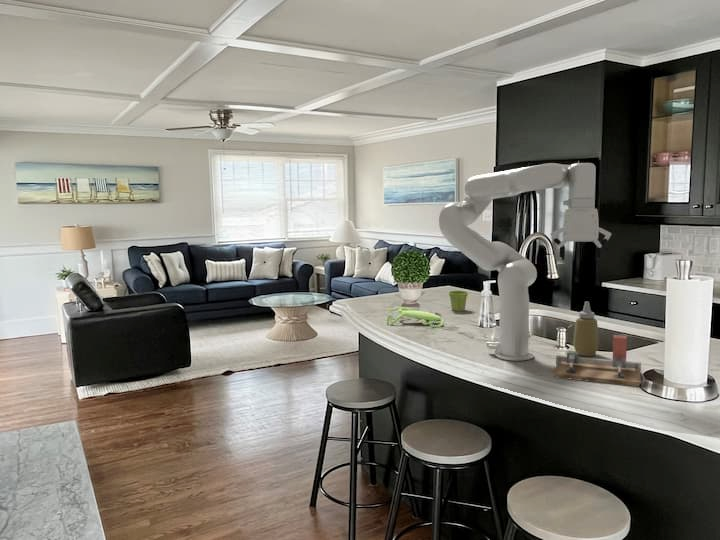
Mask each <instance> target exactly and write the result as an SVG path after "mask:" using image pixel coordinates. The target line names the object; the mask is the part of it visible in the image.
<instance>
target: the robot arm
mask: <svg viewBox="0 0 720 540" xmlns="http://www.w3.org/2000/svg"><path fill="white" fill-rule="evenodd" d="M596 170H597V169H596V165H595V164H594V163H592V162H579V163H572V164H563V163H562V164H561V163H555V162H549V163H542V164H538V165H537V164H536V165H531V166H526V167H525V166H524V167H520V168H512V169H508V170H507V169H506V170H504V171H503V170H501V171H497V172H491V173H486V174H479V175H475V176H472V177H469V178H468V179H467V180H466V182H465V185H464V192H465V193H464V194H465V195H466V196H465V197H464V198H463V200H462V201H455V202H451V203H448V204H446V205H444V207H442V209H441V210H440V212H439V216H438V225H439V230H440V232H441V234H442V236H443V237H444V238H445V240H446V241H447V242H448V243H449V244H451V245H452V247H454V248H456V249H457V250H458V251H460V252H461V253H462V254H463V255H464V256H466V257H467V258H468V259H470V260H471V261H472V262H473V263H474V264H476V265H477V266H479V268H481V269H482V270H484V271H487V272H491V271H497V272H498V275H497V286H498V295H499V297H498V298H499V327H498V329H499V331H498V332H499V334H498V336H499V337H498V338H499V339H498V340H499V341H496V342H492V341H486V345H485V346H486V348H488V349H491V350H494V356H495V357H496V358H498V359H502V360H505V361H512V362H513V361H516V362H521V361H528V360H531V359H533V358H534V353H533V352H532V351H531V350H529V349H530V348H529V342H530V341H529V340H530V339H529V338H530V337H529V336H530V335H529V334H530V295H529V287H530V286H532V284H534V283H535V281H536V279H537V277H538V272H537V268H536V266H535V265H534V264H533V262H532V261H530V260H529V259H528V258H526V257H525V256H524V255H522V254H521V253H519V252H518V251H517V250H515V249H514V248H513V247H511V246H510V245H508V244H506V243H505V242H502V241H497V240H496V241H489V240H488V239H486V238H485V237H484V236H482V235H481V234H480V233H478V232H477V231H476V230H474V229H472V228H470V227H468V226H470V225H472V224H473V223H475V222H476V221H477V220H478V219H479V218H480V216H481V215H482V214H483V212H485V210H486V209H487V208H488V206H489V205H490V204H491V203H492V201H493V200H495V199H502V198H509V197H515V196H518V195H519V194H521V193H527V192H533V191H539V190H541V191H542V190H546V189H547V190H548V189H562V188H563V189H564V188H568V199H567V200H563V203H562V205H563V206H567V208H565V209H564V213H563V214H564V215H563V222H562V227H560V228H559V229H557V230H554V231H552V232H551V233H550V236H551V238H552V239H553V241H554V243H555V244H556V245H557V246H559V247H558V248H559V258H561V261H564V260H565V258H566V246H565V244H566V243H567V242H572V243H573V242H575V243H576V242H583V243H588V242H591V243H594V244H595V246H596V247H595V251H594V252H595V254H594V257H595V258H594V261H595V262H599V259H600V258H601V251H602V247H603V246H604V245H605V244H606V243H607V242H608V241H609V240H610V238H611V236H612V233H611V232H610V231H608V230H606V229H604V228H602V227H599V213H598V208H596V207H595V203H596V202H595V200H596V177H597V176H596V173H597V172H596ZM561 233H562V240H560V239H559V238H558V236H557V235H559V234H561ZM599 233H601V234H602V235H604V237H603V239H602V240H601V241H599Z"/></svg>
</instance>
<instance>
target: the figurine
mask: <svg viewBox="0 0 720 540" xmlns="http://www.w3.org/2000/svg"><path fill="white" fill-rule="evenodd" d="M389 309H390V310H389V314H388V315H387V319H386V325H387V326H388V325H389V323H390V324H391V325H393V324H394V325H395V324H396V323H397V322H398V321H400V320H401V319H402V318H403V317H408V318H412V319H415V320H414V322H415V323H416V322H418V321H421V323H422V325H425V326H426V325H429V326H430V327H431V328H433V327H434V328H433V329H435V327H438V328H441V326H442V327H443V326H444V324H445V321H444V319H443V318H442V314H441V313H438V312H434V313H431V312H427V311H421V310H411V309H410V308H409V307H406V306H399V307H394V308H389ZM395 311H398V313H400V315H399V316H398V317H396V318H395V319H394V320H393V314H392V312H395ZM436 321H440V324H437V325H436V324H435V325H434V322H436Z"/></svg>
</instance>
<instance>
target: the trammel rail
mask: <svg viewBox="0 0 720 540" xmlns="http://www.w3.org/2000/svg"><path fill="white" fill-rule="evenodd" d="M562 362H567V363H570V371H572V368H573V363H574V364H578V363H582V364H593V365H604V366H612V365H613V359H605V358H593V357H584V356H582V357H581V356H580V355H579V352H577V351H574V350H567V351H566V355H561V354H559V355H558V354H557V355H556V357H555V365H556V366H557V365H561V364H562ZM626 368H635V372H640V373H641V372H642V371H641V370H642V363H641V362H640V361H627V360H626Z"/></svg>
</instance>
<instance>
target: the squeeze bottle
mask: <svg viewBox="0 0 720 540" xmlns="http://www.w3.org/2000/svg"><path fill="white" fill-rule="evenodd" d="M590 305H591V304H590V301H584V305H583V309H582V311H579V313H578V315H579V316H578V318H577V319H576V320H575V325H574V333H573V339H572V340H573V341H572V344H573V347H574V348H573V349H574V350H575V351H577V352H579V356H581V355H582V357H594V356H596V354H597V351H598V349H599V346H600V339H599V326H598V325H599V324H598V320H597V319H596V318H595V312H593V311H592V310H591V306H590Z"/></svg>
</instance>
